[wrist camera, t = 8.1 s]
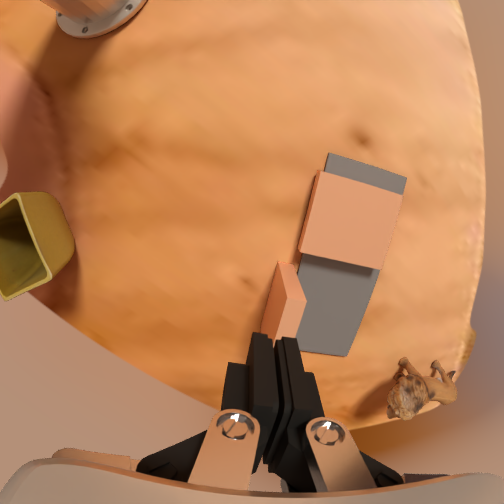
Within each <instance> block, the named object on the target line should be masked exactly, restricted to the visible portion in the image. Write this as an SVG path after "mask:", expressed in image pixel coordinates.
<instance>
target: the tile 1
mask: <svg viewBox="0 0 504 504" xmlns="http://www.w3.org/2000/svg"><path fill="white" fill-rule="evenodd" d="M306 303H307V300H306V298H305V295H304V292H303V290H302V287H301V284H300V282H299V279H298V276H297V274H296V271H295V268H294V266H293V264H290V263H285V262H280V261H278V263H277V267H276V271H275V275H274V279H273V282H272V286H271V290H270V294H269V297H268V301H267V305H266V309H265V312H264V316H263V320H262V323H261V333H263V334H267V335H268V338H271V339H273V348H274V344H275V341H276V339H279V340H281V338H282V336H284V337H291V338H295V336H296V333H297V330H298V327H299V324H300V321H301V318H302V315H303V312H304V309H305V306H306Z"/></svg>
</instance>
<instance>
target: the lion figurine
mask: <svg viewBox="0 0 504 504" xmlns="http://www.w3.org/2000/svg"><path fill="white" fill-rule="evenodd" d="M399 364H400V365H402V367H404V368H405V369H406V370H407V372H408V374H409V375H407V376H405V375H404V374H403V373H397V374H396V375H395V376H394V377H395V378H394V379H395V380H396V381H397V383H396V385H395V386H394V387H393V388H392V390H390V391H389V393H388V397H387V402H388V403H389V405H388V406H387V407H388V410H387V415H388V418H389V419H391V418H395V417H398V418H401V419H403V420H409V419H411V418H413V416H415V415H416V414H417V413H418V411H419V410H420V409H421V408H422V406H424V405H425V404H426V403H428V402H429V401H438V402H440V403H441V404H443V405H448V404H450V403H451V402H453V401H455V400H456V397H457V389H456V387H455V384H454V383H453V381H452V377H453V375H454V374H455V372H456V371H451V373H450V375H449V377H448V376H447V375H446V374H445V371H444V370H443V368H442V367H441V365H440V363H439V362H438V361H437V360H436V361H434V362H433V364H432V367H433V368H436V369H437V370H438V371H439V373H440V374H441V377H442V379H441V378H437V379H435V378H433V377H429V376H421V375H420V374H419V373H418V372H417V370H416V369H415V368H414V367H413V366H412V365H411V364H410V362H409V361H408V359H407V358H406V357H404V358H402V359H400V361H399Z"/></svg>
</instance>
